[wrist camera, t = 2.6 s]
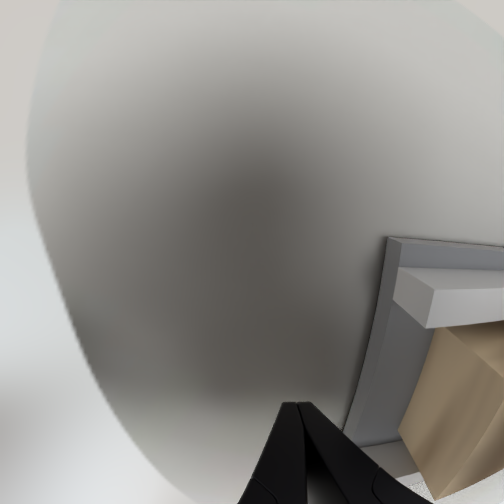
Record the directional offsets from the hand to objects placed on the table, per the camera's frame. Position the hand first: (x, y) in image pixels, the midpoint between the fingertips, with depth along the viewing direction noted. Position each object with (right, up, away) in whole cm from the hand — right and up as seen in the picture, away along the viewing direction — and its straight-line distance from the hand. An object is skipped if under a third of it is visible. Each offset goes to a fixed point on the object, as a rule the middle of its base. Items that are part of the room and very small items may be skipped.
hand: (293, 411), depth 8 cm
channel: (+12, 0, +2) cm, 12 cm away
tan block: (+7, 0, +1) cm, 7 cm away
